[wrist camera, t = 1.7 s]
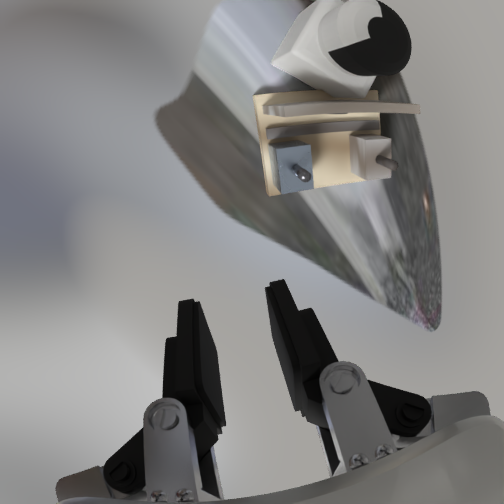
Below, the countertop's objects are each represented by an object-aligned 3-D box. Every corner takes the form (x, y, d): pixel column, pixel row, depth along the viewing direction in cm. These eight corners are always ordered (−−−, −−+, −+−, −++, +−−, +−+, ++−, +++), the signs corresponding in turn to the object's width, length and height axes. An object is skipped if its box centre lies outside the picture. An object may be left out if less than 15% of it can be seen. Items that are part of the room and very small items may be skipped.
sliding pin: (267, 144, 25) (284, 154, 20) (298, 139, 25) (322, 149, 20) (273, 184, 27) (289, 203, 22) (302, 179, 27) (325, 197, 22)
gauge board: (252, 95, 23) (274, 91, 16) (371, 90, 24) (423, 92, 17) (266, 192, 28) (290, 226, 21) (375, 175, 29) (421, 201, 22)
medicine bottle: (356, 48, 22) (433, 34, 12) (329, 98, 25) (402, 103, 14) (299, 12, 19) (357, -30, 9) (268, 64, 22) (315, 39, 12)
